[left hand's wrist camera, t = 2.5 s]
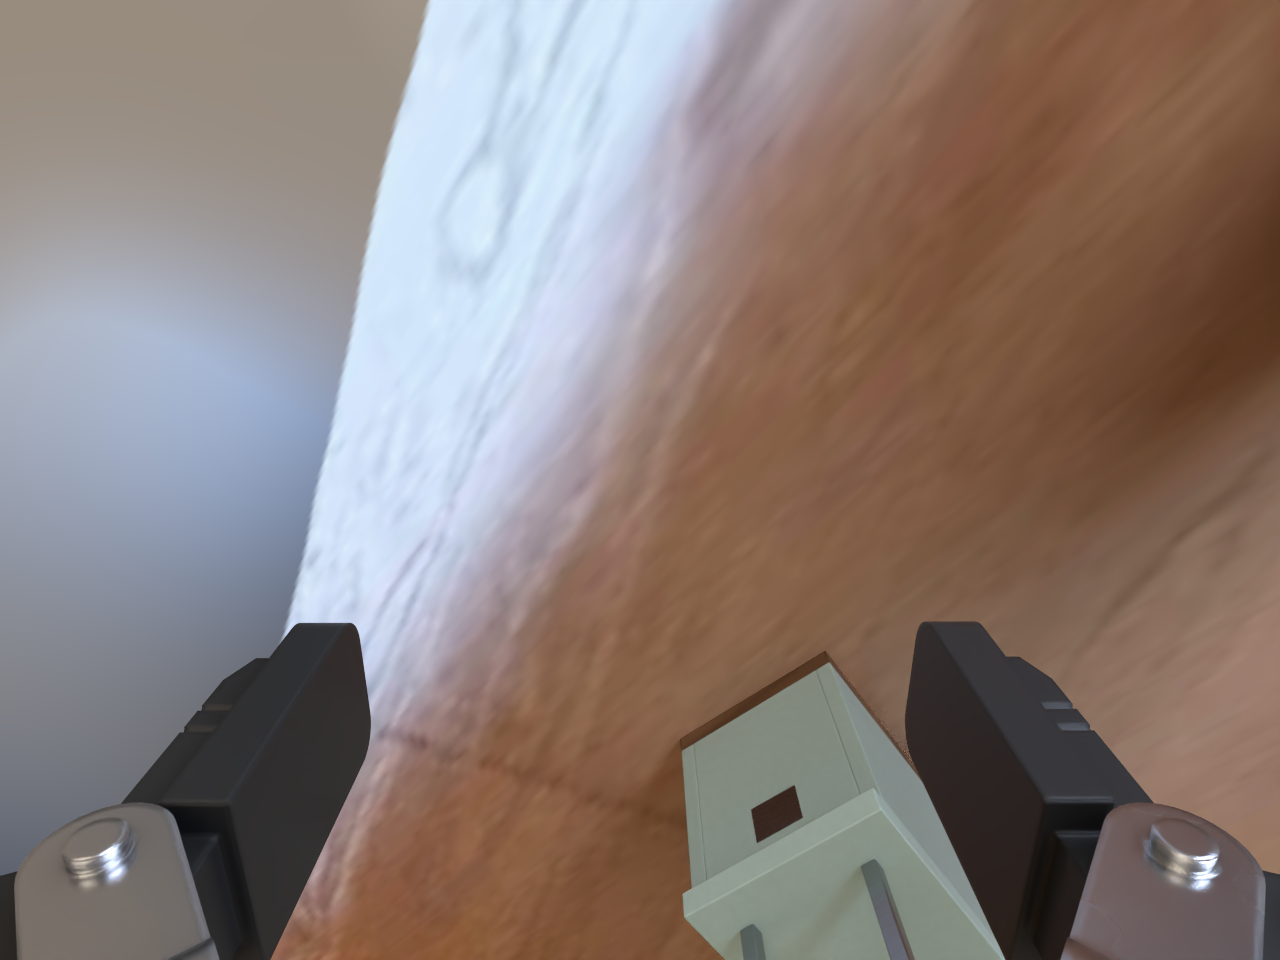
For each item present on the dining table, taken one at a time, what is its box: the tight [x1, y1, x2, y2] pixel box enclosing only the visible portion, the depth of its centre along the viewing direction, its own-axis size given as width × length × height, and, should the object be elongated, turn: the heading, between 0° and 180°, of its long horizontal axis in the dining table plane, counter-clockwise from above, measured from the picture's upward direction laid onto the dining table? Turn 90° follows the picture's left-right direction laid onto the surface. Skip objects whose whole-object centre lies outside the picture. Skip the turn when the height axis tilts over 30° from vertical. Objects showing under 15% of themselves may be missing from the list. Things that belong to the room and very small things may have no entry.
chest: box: [680, 651, 996, 940], centre depth 41 cm, size 15×10×11 cm, turn 37°
